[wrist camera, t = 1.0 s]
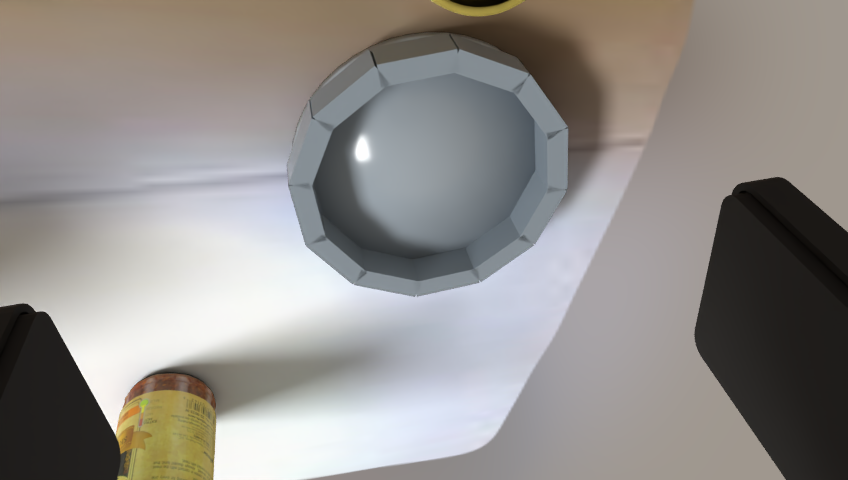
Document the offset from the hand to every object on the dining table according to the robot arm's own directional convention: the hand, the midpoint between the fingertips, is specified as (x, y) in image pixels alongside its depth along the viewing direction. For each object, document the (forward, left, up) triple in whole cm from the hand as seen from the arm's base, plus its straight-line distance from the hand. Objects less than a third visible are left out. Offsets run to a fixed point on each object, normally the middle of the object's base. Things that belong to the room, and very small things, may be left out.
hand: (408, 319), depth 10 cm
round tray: (+14, +4, -27) cm, 31 cm away
